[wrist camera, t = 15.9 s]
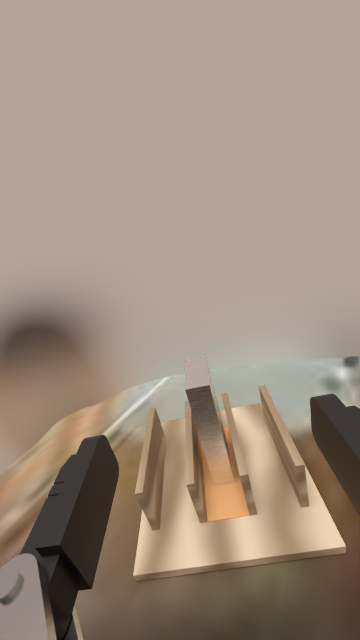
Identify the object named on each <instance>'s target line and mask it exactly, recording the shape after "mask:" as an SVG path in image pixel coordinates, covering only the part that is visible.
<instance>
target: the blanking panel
mask: <svg viewBox="0 0 360 640" xmlns="http://www.w3.org/2000/svg"><path fill="white" fill-rule="evenodd" d="M185 391H186V394H187V397H188V400H189V404H190V407H191V410H192V414H193V417H194V420H195V423H196V427H197V430H198V433H199V436H200V440H201V443H202V446H203V450H204V453H205V456H206V459H207V463H208V466H209V469H210V472H211V476H212V479H213V482H214V486H217V485H223V484H230V483H235V480H234V475H233V470H232V464H231V459H230V454H229V448H228V443H227V438H226V434H225V430H224V427H223V423H222V419H221V415H220V411H219V407H218V403H217V399H216V395H215V391H214V387H213V383H212V379H211V376H210V372H209V368H208V364H207V360H206V356H205V354H203V355H198V356H194V357H189V358H185Z"/></svg>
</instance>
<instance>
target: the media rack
mask: <svg viewBox="0 0 360 640" xmlns="http://www.w3.org/2000/svg"><path fill="white" fill-rule="evenodd" d="M259 390H260V396H261V402H262V403H258V404H253V405H248V406H243V407H238V408H233V409H231V406H230V402H229V399H228V395H227V393H224V394H221V395H222V399H223V404H224V408H225V410H223V411H220V415H221V419H222V423H223V427H224V430H225V434H226V438H227V443H228V448H229V454H230V459H231V464H232V470H233V475H234V480H235V483H230V484H223V485H217V486H214V482H213V479H212V476H211V472H210V469H209V466H208V463H207V459H206V456H205V453H204V450H203V446H202V443H201V440H200V436H199V433H198V430H197V427H196V423H195V420H194V417H193V414H192V410H191V407H190V404H189V401H185V418H183V419H178V420H173V421H168V422H162V423H160V420H159V417H158V415H157V412H156V409H155V408H151V409H150V410H149V415H148V421H147V427H146V433H145V438H144V444H143V450H142V456H141V461H140V467H139V473H138V479H137V484H136V490H135V495H136V497H137V499H138V501H139V503H140V505H141V508H142V517H141V524H140V531H139V538H138V546H137V553H136V560H135V567H134V574H133V576H134V578H135V579H136V581H143V580H150V579H158V578H165V577H172V576H180V575H187V574H195V573H202V572H209V571H217V570H224V569H232V568H239V567H247V566H254V565H261V564H269V563H276V562H284V561H291V560H299V559H306V558H313V557H321V556H328V555H336V554H343V553H346V546H345V544H344V542H343V540H342V538H341V536H340V534H339V532H338V530H337V528H336V526H335V524H334V522H333V520H332V518H331V516H330V514H329V512H328V510H327V508H326V506H325V504H324V502H323V500H322V498H321V496H320V494H319V492H318V490H317V488H316V486H315V484H314V482H313V480H312V478H311V476H310V474H309V472H308V470H307V468H306V466H305V464H304V462H303V460H302V458H301V456H300V454H299V452H298V450H297V448H296V446H295V444H294V442H293V440H292V438H291V436H290V434H289V432H288V430H287V428H286V426H285V424H284V422H283V420H282V418H281V416H280V414H279V412H278V410H277V408H276V406H275V404H274V402H273V401H272V399H271V397H270V395H269V393H268V391H267V389H266V387H265V385H263V386H259Z"/></svg>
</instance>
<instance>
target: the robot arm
mask: <svg viewBox="0 0 360 640" xmlns="http://www.w3.org/2000/svg"><path fill="white" fill-rule="evenodd" d="M310 407H311V426H312V432H313V436H314V438H315V441H316V443H317V445H318V447H319V449H320V450H321V452H322V454H323V455H324V457H325V459H326V460H327V462H328V464H329V465H330V467H331V469H332V470H333V472H334V474H335V475H336V477H337V479H338V480H339V482H340V484H341V485H342V487H343V489H344V490H345V492H346V494H347V495H348V497H349V499H350V500H351V502H352V504H353V505H354V507H355V509H356V511H357V512H358V514H359V516H360V409H359V408H358V407H356V406H349V407H345V405H344V404H343V403H342V402H341V401H340V400H339V398H338V397H337V396H336V395H334V394H327V395H322V396H316V397H311V399H310ZM118 476H119V466H118V462H117V459H116V457H115V455H114V453H113V451H112V448H111V446H110V444H109V442H108V440H107V438H106V436H104V435H100V436H95V437H89V438H85V439H83V441H82V442H81V445H80V447H79V449H78V451H77V454H75V455H71V457H70V458H69V459H68V460H67V462H66V463H65V464H64V465H63V466H62V468H61V469H60V471H59V474H58V476H57V478H56V480H55V482H54V486H52V488H51V490H50V492H49V495H48V498H47V499H46V501H45V503H44V505H43V507H42V509H41V511H40V513H39V516H38V518H37V520H36V522H35V524H34V526H33V528H32V530H31V532H30V535H29V537H28V539H27V541H26V543H25V545H24V547H23V549H22V551H21V553H20V554H19V555H18V556H16V557H14V558H13V559H11V560H10V561H8V562H7V563H6V564H5V565H4V566H3V567H2V568H1V569H0V640H83V636H82V632H81V628H80V623H79V619H78V615H77V611H76V608H75V606H74V604H75V600H76V597H77V593H78V591H79V590H87V589H92V586H93V582H94V578H95V573H96V569H97V565H98V561H99V557H100V552H101V548H102V544H103V540H104V536H105V531H106V527H107V523H108V519H109V515H110V511H111V506H112V502H113V498H114V494H115V490H116V485H117V481H118Z"/></svg>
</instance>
